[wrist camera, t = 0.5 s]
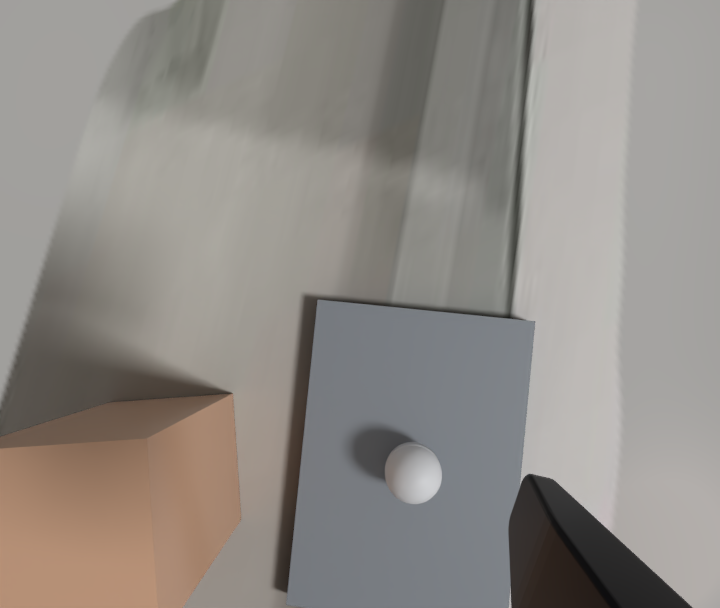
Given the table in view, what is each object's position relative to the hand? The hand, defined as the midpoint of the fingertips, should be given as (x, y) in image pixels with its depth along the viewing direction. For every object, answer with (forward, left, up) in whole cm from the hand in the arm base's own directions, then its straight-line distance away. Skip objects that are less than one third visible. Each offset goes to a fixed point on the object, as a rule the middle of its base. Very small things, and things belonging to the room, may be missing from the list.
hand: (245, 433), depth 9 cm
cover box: (-9, 0, -18) cm, 20 cm away
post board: (+1, -6, -18) cm, 19 cm away
